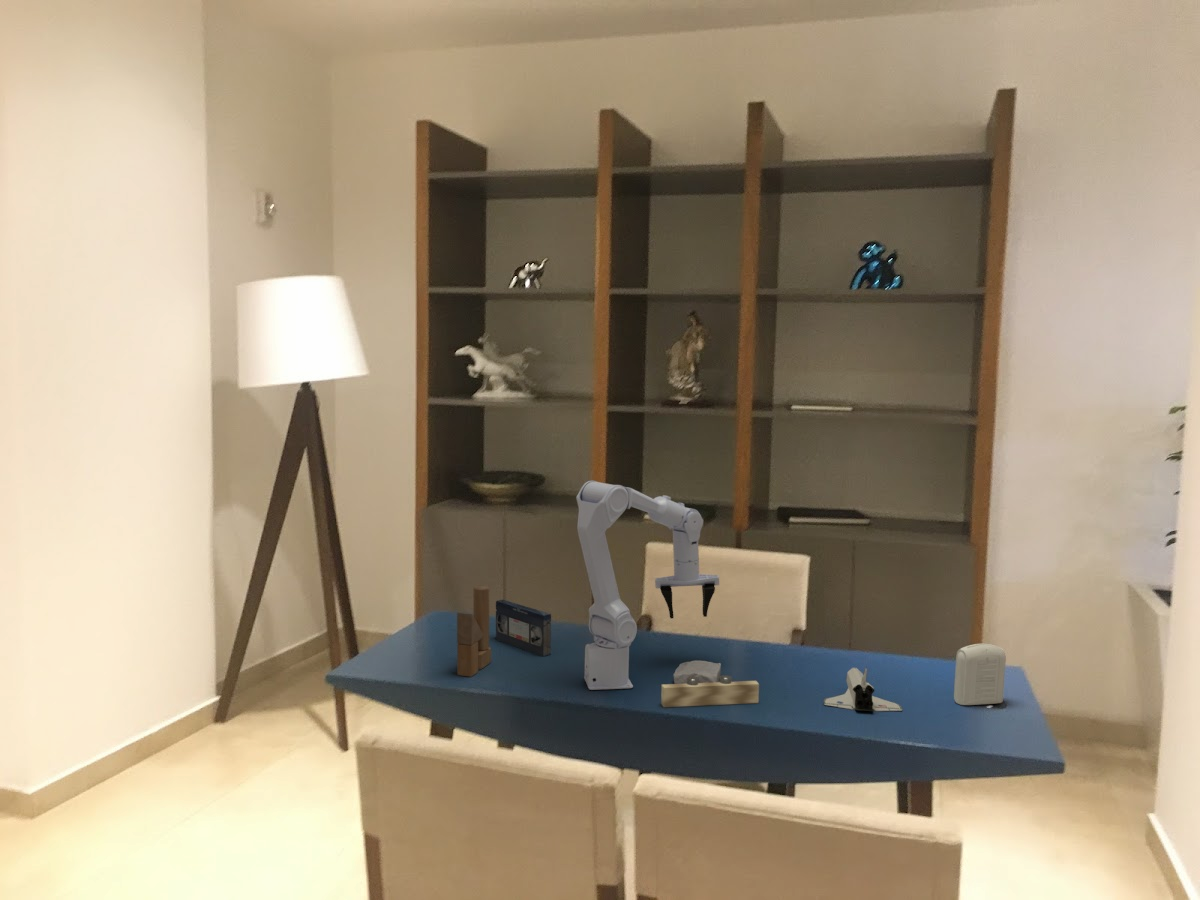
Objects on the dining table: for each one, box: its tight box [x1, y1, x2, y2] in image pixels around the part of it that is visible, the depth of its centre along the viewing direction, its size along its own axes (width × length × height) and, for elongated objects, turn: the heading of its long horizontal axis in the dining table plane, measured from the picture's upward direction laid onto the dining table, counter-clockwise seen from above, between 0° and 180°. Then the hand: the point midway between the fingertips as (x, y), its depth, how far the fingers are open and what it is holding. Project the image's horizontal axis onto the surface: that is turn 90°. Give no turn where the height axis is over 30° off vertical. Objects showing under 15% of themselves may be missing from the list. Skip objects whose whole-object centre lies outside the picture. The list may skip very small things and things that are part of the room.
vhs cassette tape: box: [495, 599, 552, 657], centre depth 229 cm, size 18×3×10 cm, turn 43°
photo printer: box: [953, 643, 1007, 706], centre depth 196 cm, size 10×4×12 cm, turn 103°
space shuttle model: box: [823, 666, 903, 712], centre depth 200 cm, size 16×25×10 cm, turn 171°
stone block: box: [672, 660, 722, 684], centre depth 206 cm, size 12×5×10 cm
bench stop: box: [660, 674, 760, 708], centre depth 194 cm, size 20×3×5 cm, turn 99°
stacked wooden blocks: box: [456, 585, 492, 677], centre depth 211 cm, size 4×11×18 cm, turn 163°
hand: (688, 616), depth 218 cm, fingers open, 7 cm apart
